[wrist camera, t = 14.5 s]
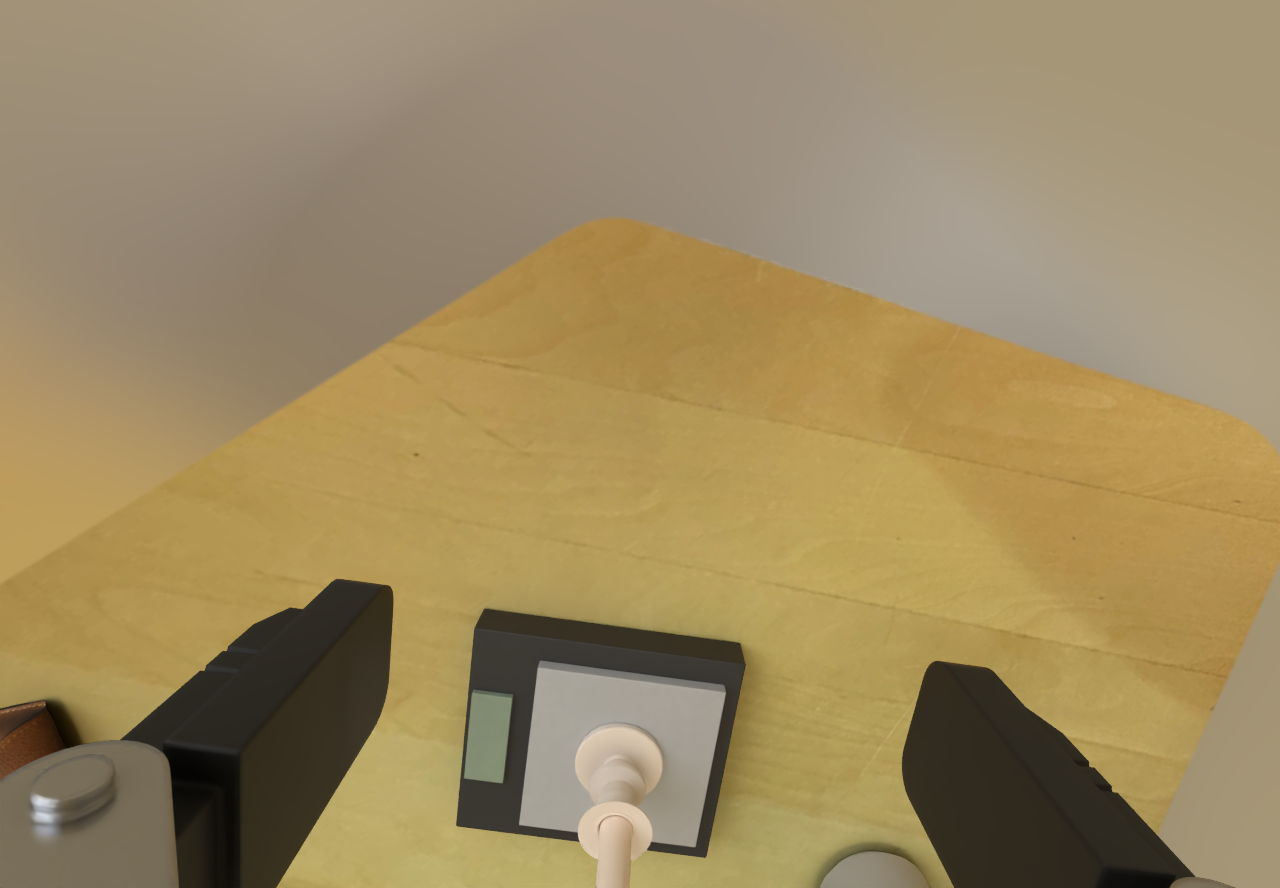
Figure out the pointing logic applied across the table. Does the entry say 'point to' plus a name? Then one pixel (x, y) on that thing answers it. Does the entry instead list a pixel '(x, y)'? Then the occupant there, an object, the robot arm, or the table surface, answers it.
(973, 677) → the robot arm
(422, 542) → the table surface
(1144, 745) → the table surface
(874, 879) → the can
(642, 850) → the candle
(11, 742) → the sunglasses case
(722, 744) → the scale
